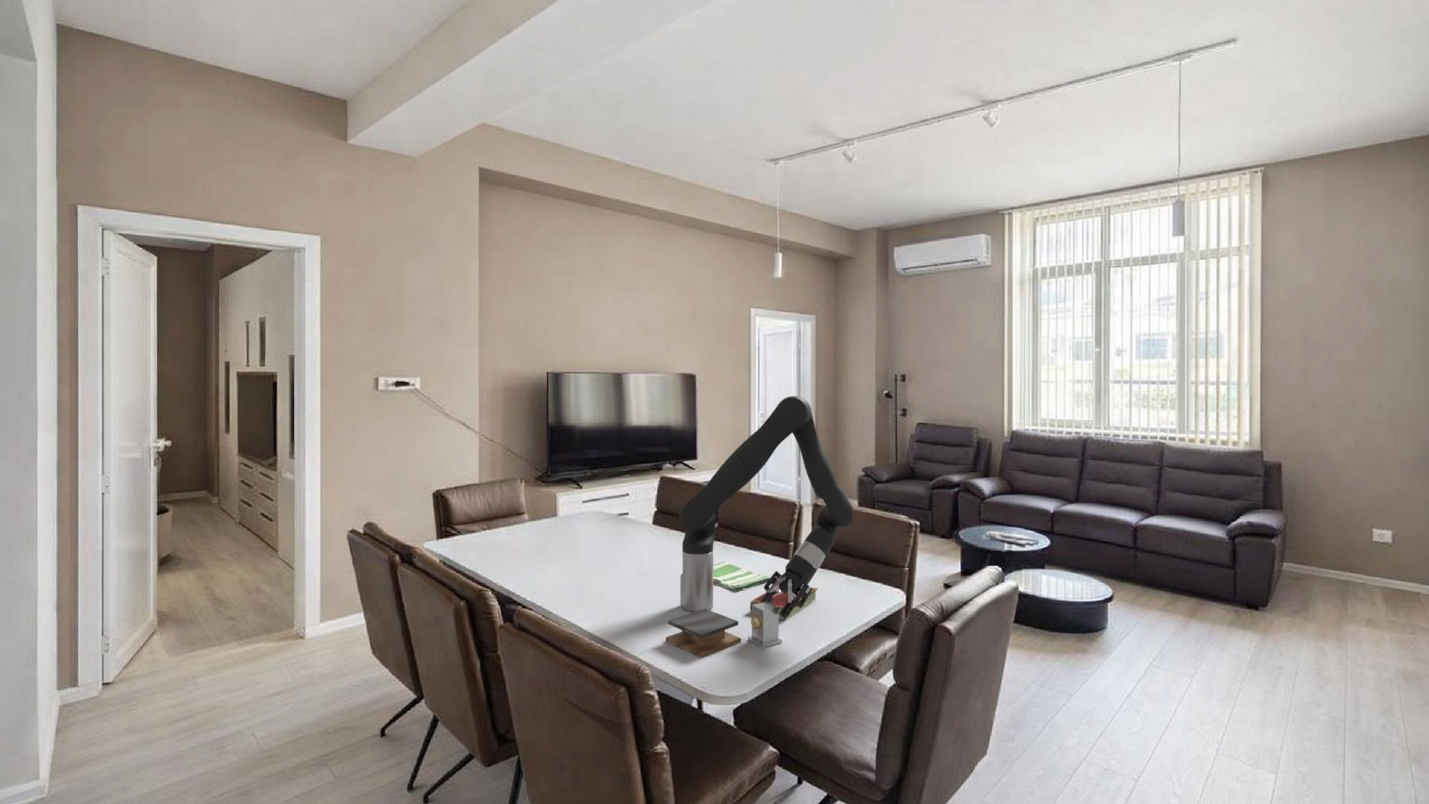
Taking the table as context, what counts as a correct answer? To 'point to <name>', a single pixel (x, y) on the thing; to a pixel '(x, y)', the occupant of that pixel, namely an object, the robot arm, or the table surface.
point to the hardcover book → (785, 601)
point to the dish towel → (735, 577)
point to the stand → (703, 632)
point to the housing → (765, 625)
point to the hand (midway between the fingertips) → (772, 611)
